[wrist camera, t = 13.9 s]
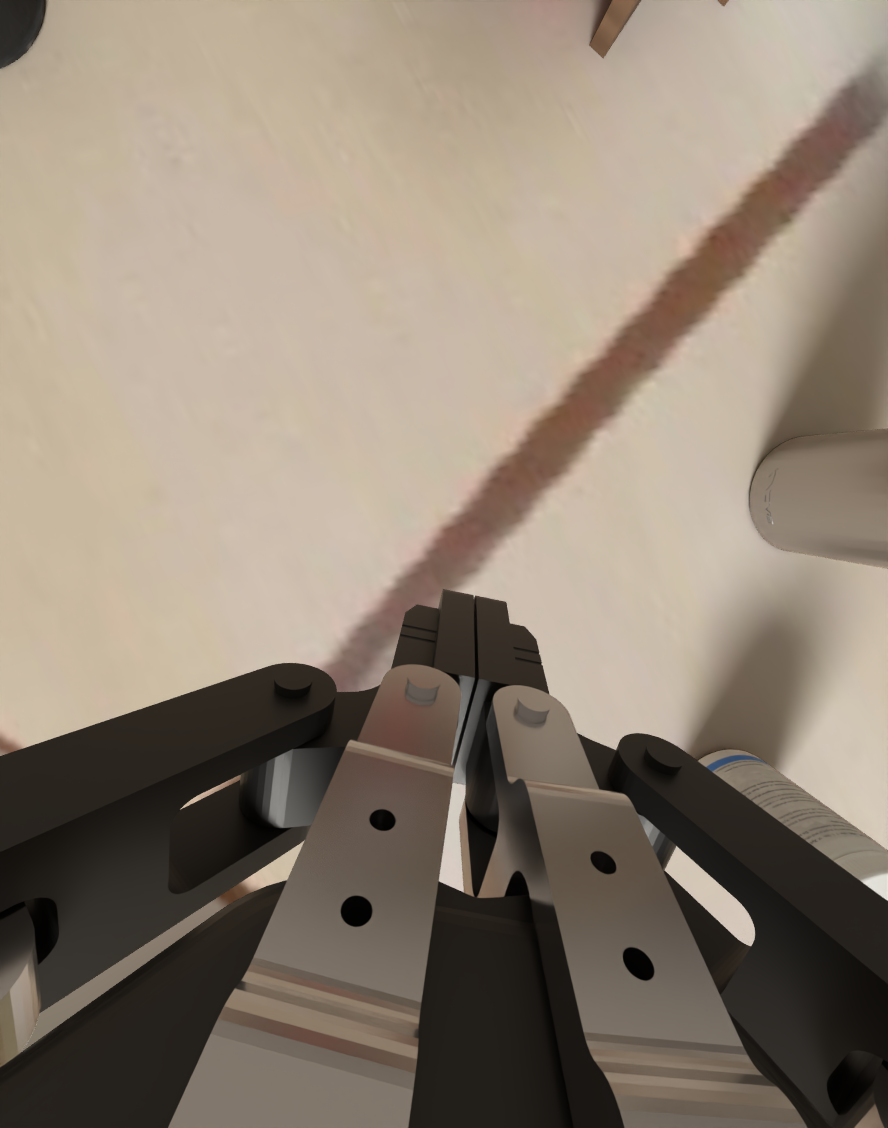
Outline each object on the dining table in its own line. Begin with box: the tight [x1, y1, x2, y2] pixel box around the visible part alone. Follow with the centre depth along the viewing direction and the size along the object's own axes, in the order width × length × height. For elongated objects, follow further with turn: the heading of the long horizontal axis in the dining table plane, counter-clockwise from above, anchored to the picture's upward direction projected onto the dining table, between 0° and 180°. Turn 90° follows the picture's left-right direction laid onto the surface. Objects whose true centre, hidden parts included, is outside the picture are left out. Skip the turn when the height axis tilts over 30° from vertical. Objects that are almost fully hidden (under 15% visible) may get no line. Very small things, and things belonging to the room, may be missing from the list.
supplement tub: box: [698, 749, 888, 901], centre depth 39 cm, size 10×10×15 cm
